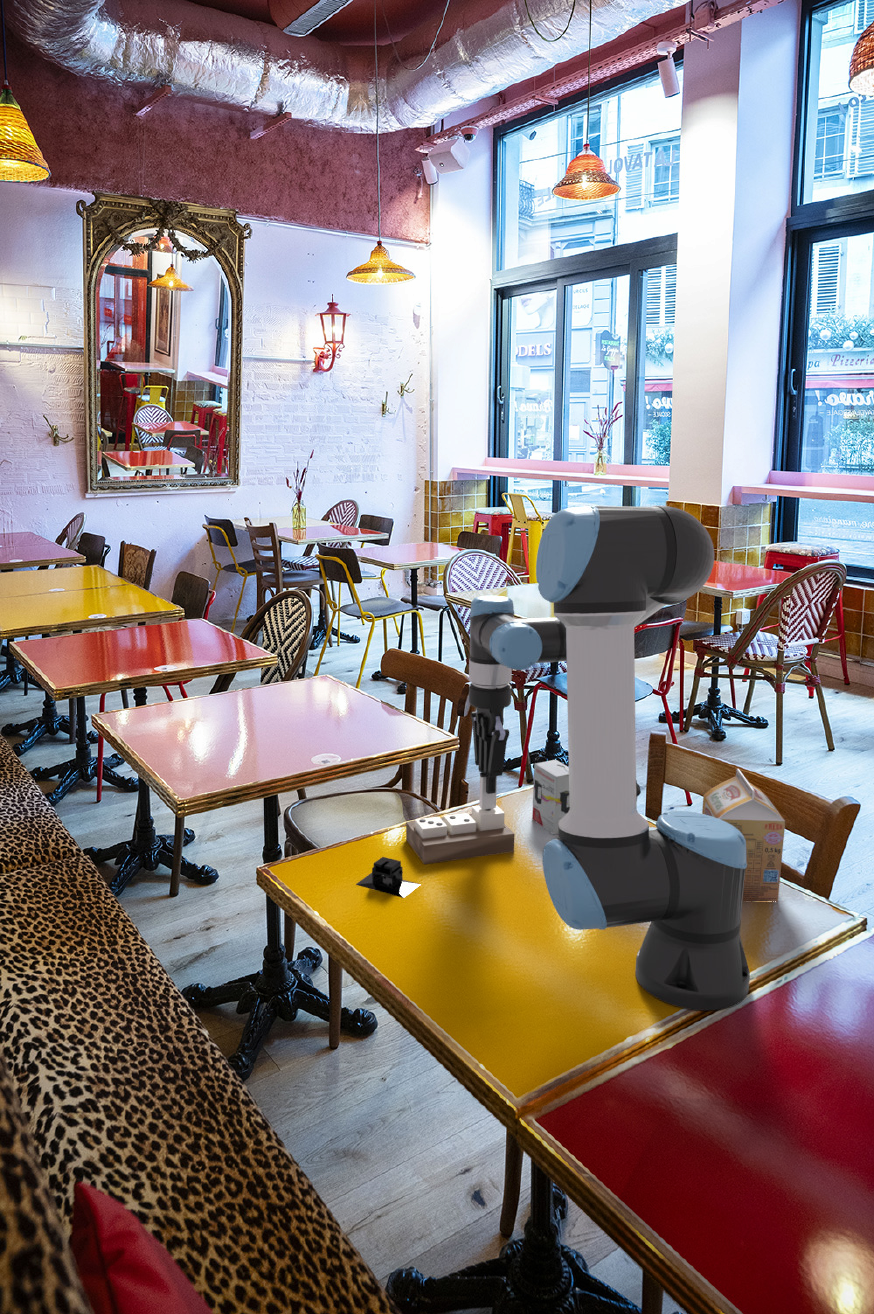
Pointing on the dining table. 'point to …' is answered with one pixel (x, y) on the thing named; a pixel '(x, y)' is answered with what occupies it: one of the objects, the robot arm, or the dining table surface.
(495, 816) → the tile one
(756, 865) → the milk carton
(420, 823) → the tile three
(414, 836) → the board
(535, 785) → the ink box
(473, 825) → the tile two
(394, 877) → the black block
